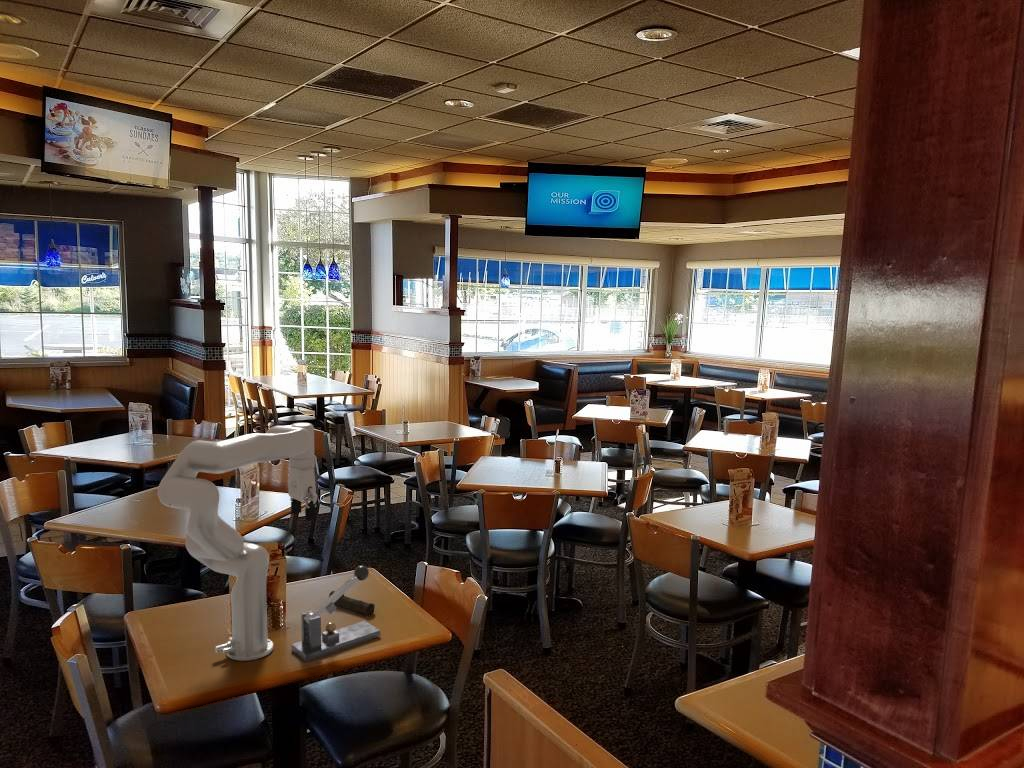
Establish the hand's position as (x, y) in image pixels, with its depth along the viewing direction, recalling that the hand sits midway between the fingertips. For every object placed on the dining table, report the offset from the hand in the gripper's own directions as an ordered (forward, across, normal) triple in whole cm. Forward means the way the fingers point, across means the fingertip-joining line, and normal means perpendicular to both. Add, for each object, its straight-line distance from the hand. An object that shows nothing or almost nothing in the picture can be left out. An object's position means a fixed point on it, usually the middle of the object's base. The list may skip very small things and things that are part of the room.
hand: (303, 516), depth 228 cm
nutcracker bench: (+33, +22, -2) cm, 40 cm away
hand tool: (+34, +2, +14) cm, 37 cm away
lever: (+21, +22, +1) cm, 30 cm away
